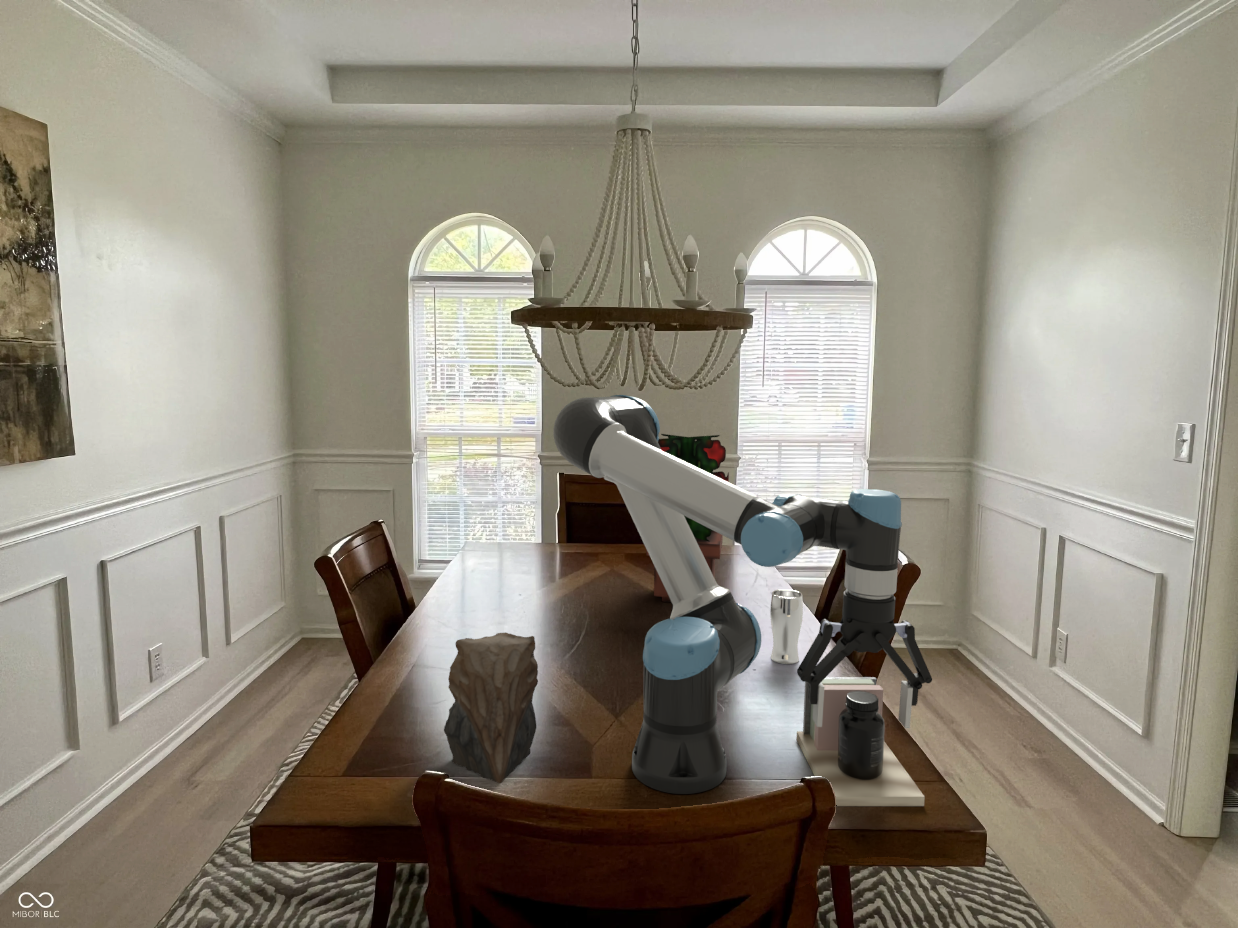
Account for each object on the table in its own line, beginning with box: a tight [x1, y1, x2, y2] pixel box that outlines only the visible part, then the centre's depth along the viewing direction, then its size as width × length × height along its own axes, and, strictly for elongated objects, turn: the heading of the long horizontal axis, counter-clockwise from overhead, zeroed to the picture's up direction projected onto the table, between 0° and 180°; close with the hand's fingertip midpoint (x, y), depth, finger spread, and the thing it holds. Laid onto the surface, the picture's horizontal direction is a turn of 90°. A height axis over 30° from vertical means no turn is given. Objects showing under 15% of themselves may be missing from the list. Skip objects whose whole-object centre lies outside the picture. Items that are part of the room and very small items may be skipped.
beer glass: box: [769, 588, 804, 665], centre depth 166 cm, size 7×7×15 cm
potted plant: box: [645, 433, 730, 603], centre depth 210 cm, size 22×22×45 cm
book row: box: [810, 679, 884, 750], centre depth 127 cm, size 5×10×10 cm, turn 91°
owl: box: [443, 632, 539, 784], centre depth 124 cm, size 13×13×20 cm
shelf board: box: [796, 730, 926, 807], centre depth 121 cm, size 20×14×2 cm
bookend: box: [802, 676, 878, 735], centre depth 130 cm, size 1×12×10 cm, turn 91°
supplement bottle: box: [838, 691, 885, 780], centre depth 118 cm, size 7×7×12 cm
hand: (860, 723), depth 118 cm, fingers open, 13 cm apart
